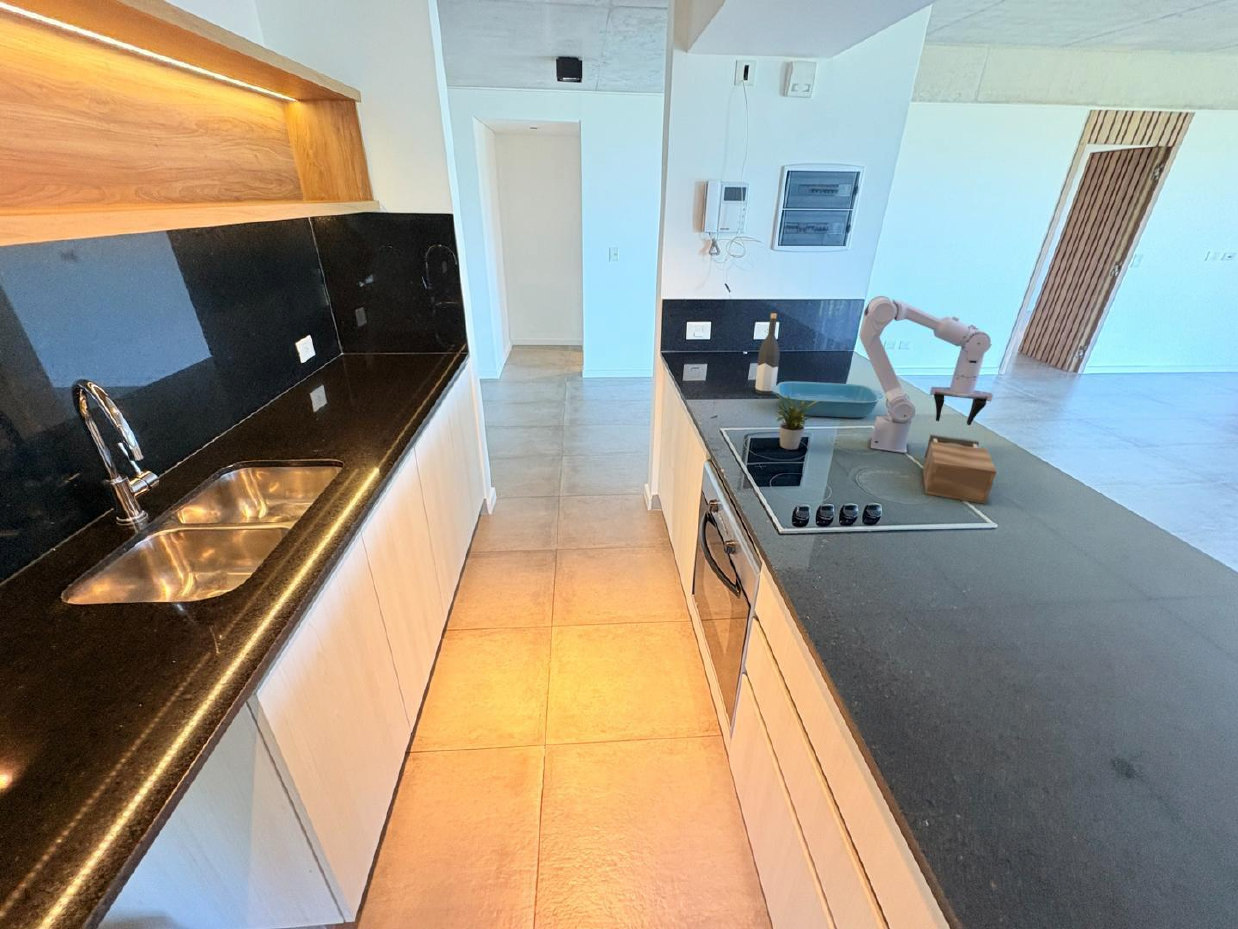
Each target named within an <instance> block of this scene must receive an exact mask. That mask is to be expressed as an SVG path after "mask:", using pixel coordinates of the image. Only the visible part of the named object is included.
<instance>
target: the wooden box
mask: <svg viewBox="0 0 1238 929" xmlns="http://www.w3.org/2000/svg"><path fill="white" fill-rule="evenodd" d="M996 474H997V470H996V467H995V465H994V462H993V461H992V458H991V455H990V453H989V451H988V449H987V448H982V447H981V448H980V447H978V448H975V447H968V446H960V445H953V444H946V443H939V442H930V446H929V449H928V453H927V457H926V458H925V461H924V465H923V469H922V475H923V482H924V489H925V490H924V491H925V494H926V495H931V496H936V497H943V498H948V499H954V500H960V501H965V502H971V503H975V504H976V503H977V504H983V505H986V504H987V503H988V500H989V496H990V492H991V490H992V486H993V484H994V482H995V477H996Z"/></svg>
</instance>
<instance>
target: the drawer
mask: <svg viewBox="0 0 1238 929" xmlns="http://www.w3.org/2000/svg"><path fill="white" fill-rule="evenodd" d="M930 442H939V443H957V444H960V445H963V446H968V447H975V448H979V445H980V441H979V440H976V439H970V438H962V437H954V436H947V435H939V434H931V433H930V434H929V437H928V441H927V445H926V448H925V453H924V457H923V458H924V459H926V457H927V453H928V449H929V446H930Z"/></svg>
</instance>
